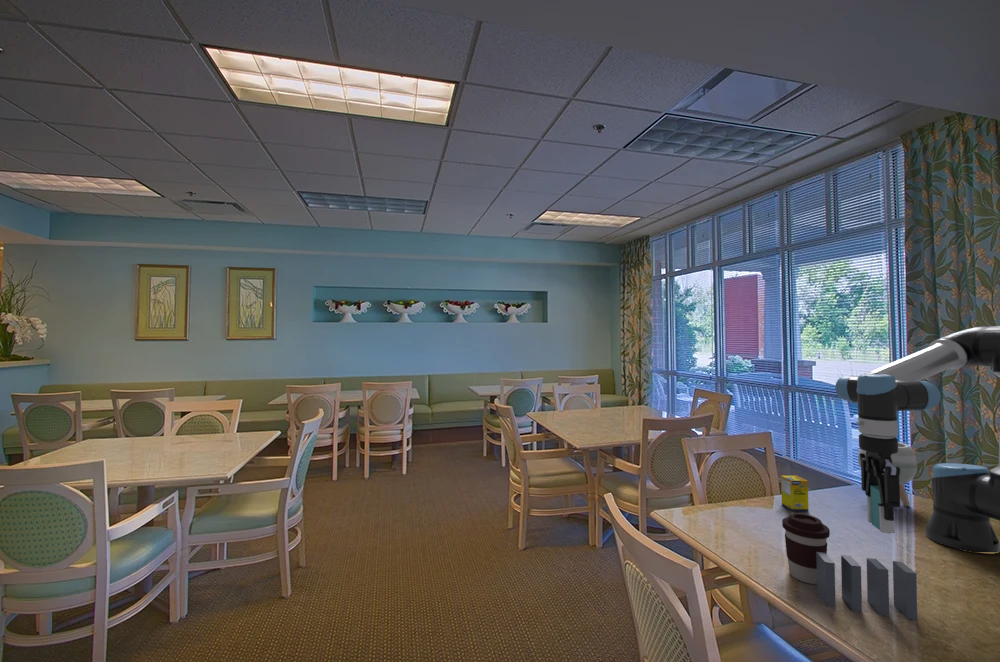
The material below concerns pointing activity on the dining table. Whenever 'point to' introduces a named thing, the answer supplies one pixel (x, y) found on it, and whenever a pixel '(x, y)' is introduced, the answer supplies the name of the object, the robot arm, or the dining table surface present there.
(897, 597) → the domino
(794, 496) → the supplement box
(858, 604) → the domino
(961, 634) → the dining table surface
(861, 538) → the dining table surface
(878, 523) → the domino
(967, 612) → the dining table surface
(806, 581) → the coffee cup
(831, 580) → the domino
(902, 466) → the planter
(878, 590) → the domino
